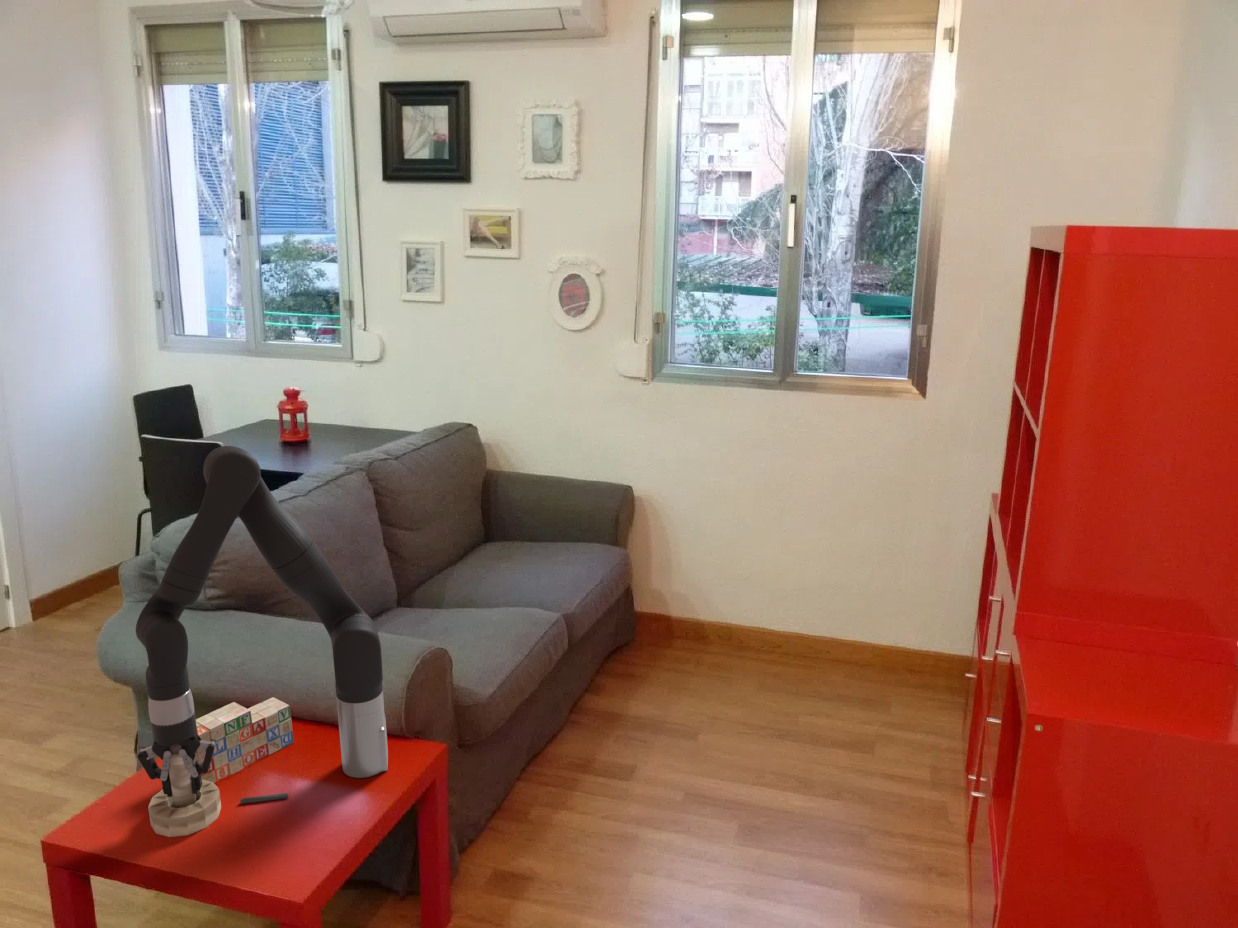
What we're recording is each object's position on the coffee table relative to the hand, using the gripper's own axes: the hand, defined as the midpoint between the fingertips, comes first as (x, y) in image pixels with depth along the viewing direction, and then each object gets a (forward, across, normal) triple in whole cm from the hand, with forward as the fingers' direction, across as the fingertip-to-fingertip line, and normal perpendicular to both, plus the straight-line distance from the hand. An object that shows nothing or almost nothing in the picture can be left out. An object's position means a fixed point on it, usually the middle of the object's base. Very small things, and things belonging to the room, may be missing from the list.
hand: (183, 792), depth 179 cm
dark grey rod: (+5, -14, -2) cm, 15 cm away
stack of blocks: (+6, -7, -18) cm, 20 cm away
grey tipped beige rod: (+4, 0, 0) cm, 4 cm away
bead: (+5, 0, 0) cm, 5 cm away
